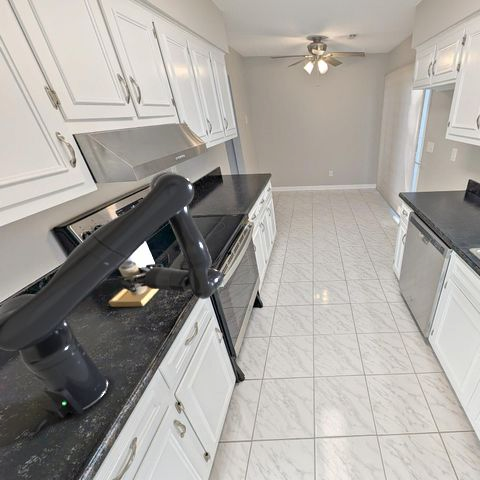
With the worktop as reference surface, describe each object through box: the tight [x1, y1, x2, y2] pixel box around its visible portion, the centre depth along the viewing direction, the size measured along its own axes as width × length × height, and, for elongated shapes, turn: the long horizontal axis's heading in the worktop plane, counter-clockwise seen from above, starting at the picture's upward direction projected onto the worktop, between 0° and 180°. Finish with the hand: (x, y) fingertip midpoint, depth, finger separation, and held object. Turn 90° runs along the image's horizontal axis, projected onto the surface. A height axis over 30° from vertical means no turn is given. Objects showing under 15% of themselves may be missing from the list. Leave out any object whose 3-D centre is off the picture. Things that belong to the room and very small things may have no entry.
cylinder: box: [125, 240, 156, 269], centre depth 122 cm, size 12×12×25 cm
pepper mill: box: [118, 261, 148, 295], centre depth 90 cm, size 5×5×12 cm
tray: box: [108, 287, 159, 308], centre depth 110 cm, size 20×14×3 cm
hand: (126, 274), depth 90 cm, fingers closed on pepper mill, 5 cm apart
